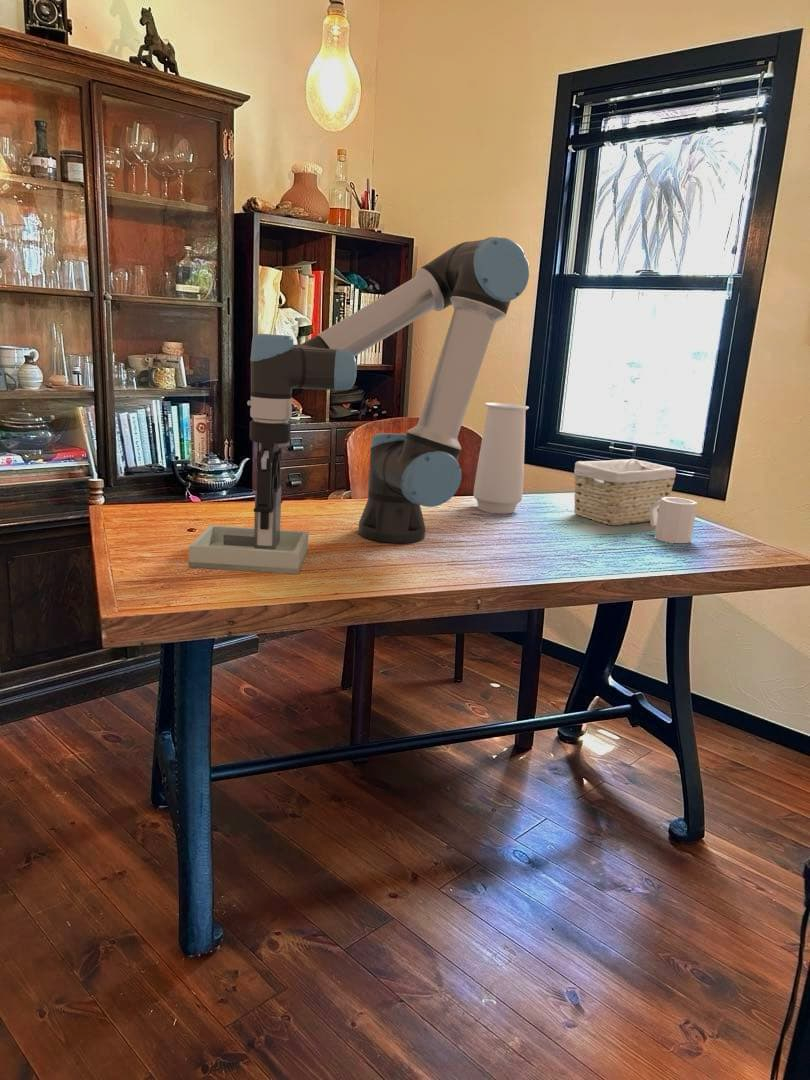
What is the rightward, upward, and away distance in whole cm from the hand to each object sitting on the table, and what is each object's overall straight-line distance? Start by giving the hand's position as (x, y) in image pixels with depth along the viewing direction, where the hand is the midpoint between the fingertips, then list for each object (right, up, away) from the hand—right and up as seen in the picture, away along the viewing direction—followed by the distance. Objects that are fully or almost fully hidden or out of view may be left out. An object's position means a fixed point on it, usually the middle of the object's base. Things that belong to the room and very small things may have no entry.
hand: (267, 540), depth 148 cm
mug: (+91, 0, +42) cm, 100 cm away
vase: (+51, +8, +59) cm, 79 cm away
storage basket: (+85, +6, +61) cm, 104 cm away
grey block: (-3, -1, 0) cm, 3 cm away
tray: (-3, -3, +1) cm, 5 cm away
